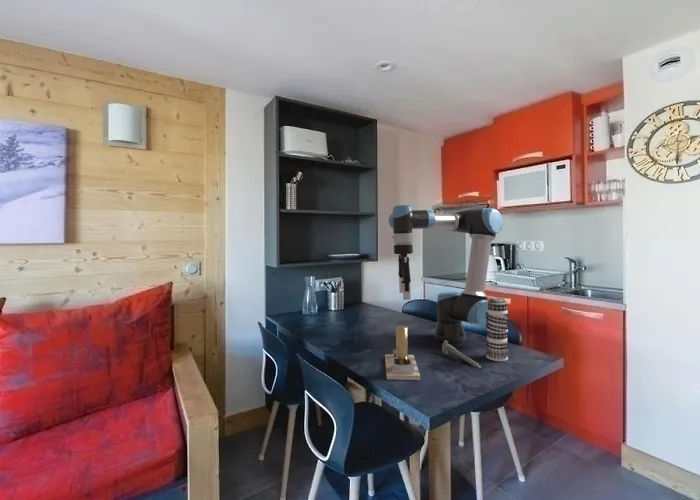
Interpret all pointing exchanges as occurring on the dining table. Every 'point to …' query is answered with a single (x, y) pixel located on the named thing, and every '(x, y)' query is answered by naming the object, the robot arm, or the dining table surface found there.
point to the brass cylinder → (402, 345)
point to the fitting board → (401, 368)
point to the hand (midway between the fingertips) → (404, 296)
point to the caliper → (457, 353)
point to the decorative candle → (497, 329)
